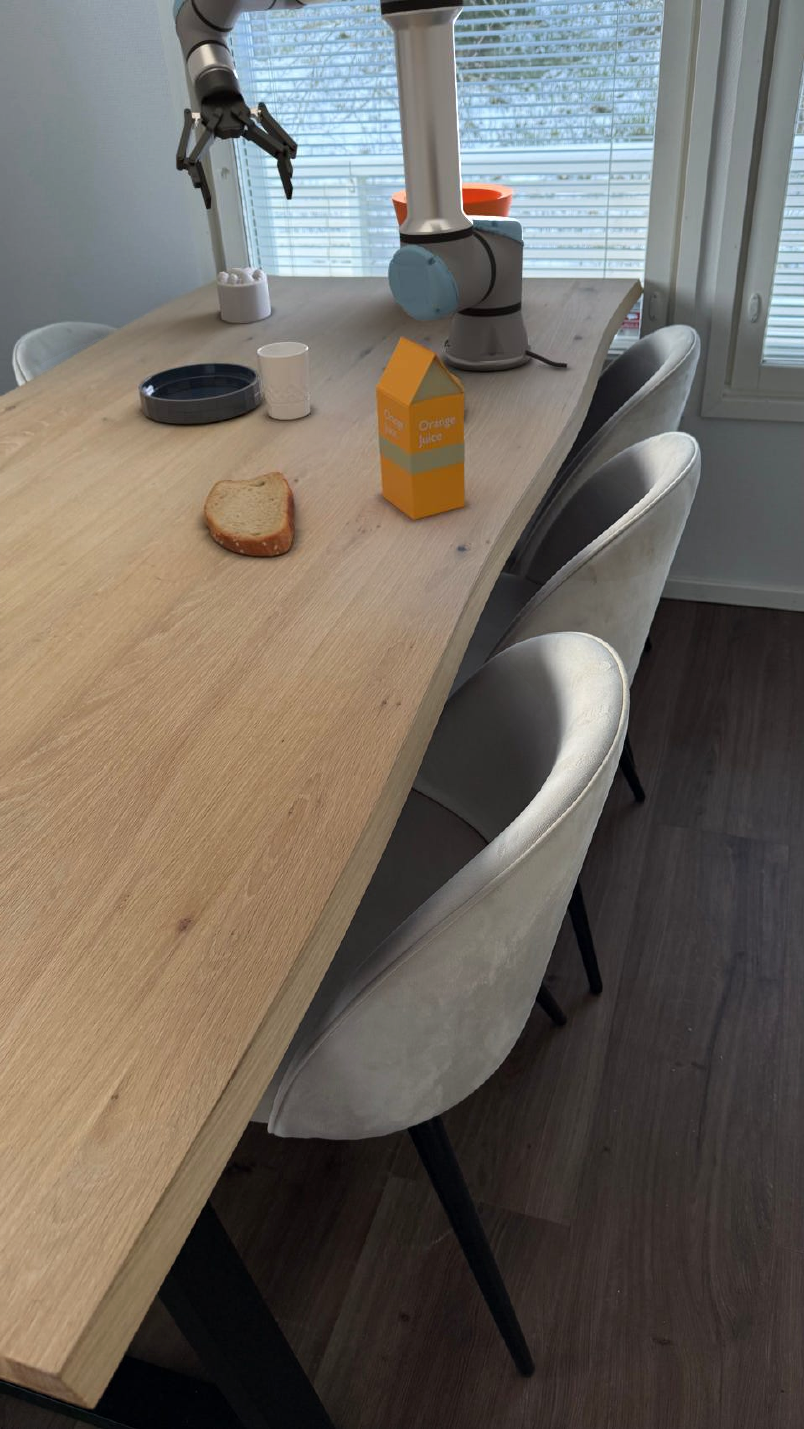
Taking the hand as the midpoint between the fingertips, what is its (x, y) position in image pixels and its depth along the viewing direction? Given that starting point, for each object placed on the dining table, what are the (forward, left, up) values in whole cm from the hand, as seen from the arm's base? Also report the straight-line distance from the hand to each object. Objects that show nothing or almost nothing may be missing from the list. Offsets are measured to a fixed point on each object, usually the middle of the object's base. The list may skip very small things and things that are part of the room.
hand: (250, 199), depth 162 cm
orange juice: (-60, +25, -28) cm, 71 cm away
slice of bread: (-47, +42, -28) cm, 69 cm away
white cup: (-20, +13, -28) cm, 37 cm away
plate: (-5, +19, -28) cm, 34 cm away
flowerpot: (+7, -58, -28) cm, 65 cm away
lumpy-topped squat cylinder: (+34, -22, -28) cm, 49 cm away
